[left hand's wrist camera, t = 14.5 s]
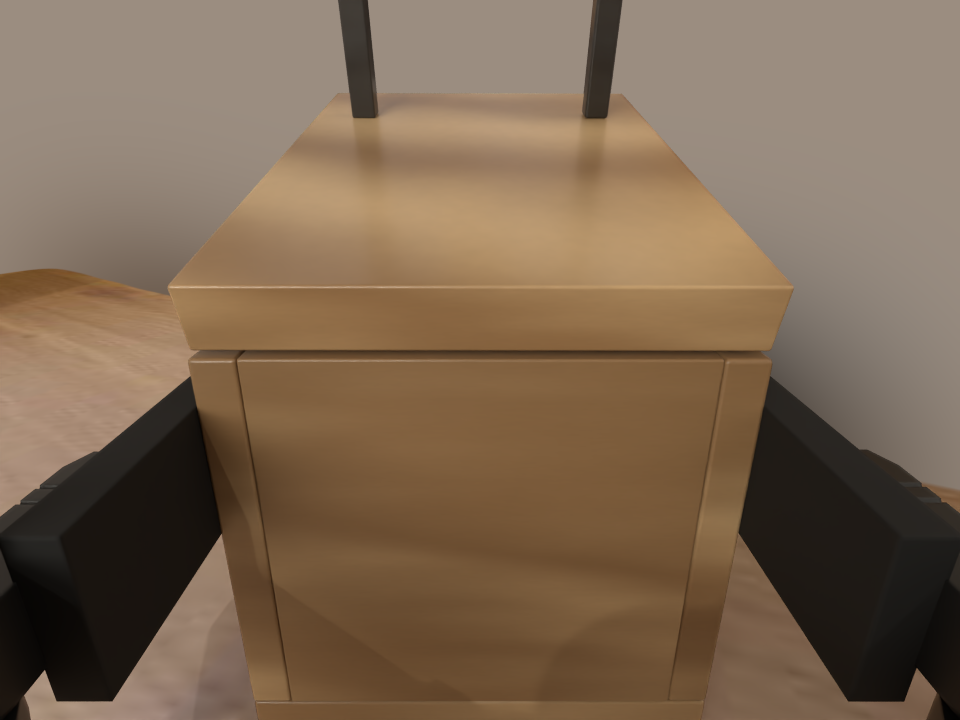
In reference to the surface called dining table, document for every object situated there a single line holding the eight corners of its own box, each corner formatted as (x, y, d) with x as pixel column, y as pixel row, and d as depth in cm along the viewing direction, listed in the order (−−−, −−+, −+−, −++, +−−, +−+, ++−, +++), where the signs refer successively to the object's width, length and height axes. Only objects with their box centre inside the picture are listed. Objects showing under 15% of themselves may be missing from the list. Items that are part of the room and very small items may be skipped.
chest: (365, 441, 25) (348, 234, 22) (593, 441, 25) (610, 235, 22) (258, 728, 13) (185, 359, 10) (700, 728, 13) (776, 360, 10)
